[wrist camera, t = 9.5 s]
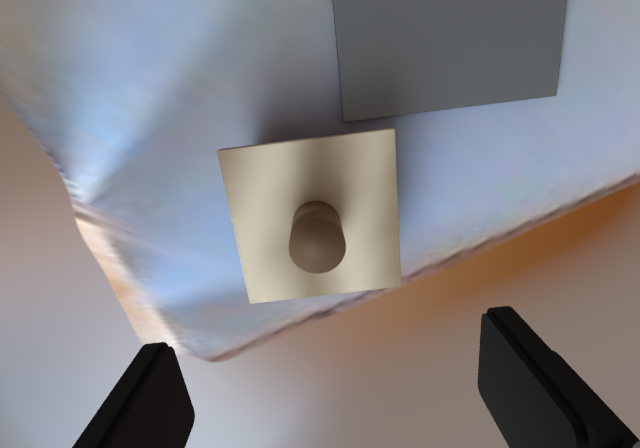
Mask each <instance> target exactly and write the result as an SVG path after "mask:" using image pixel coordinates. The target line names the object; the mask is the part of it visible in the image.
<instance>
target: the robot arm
mask: <svg viewBox="0 0 640 448" xmlns="http://www.w3.org/2000/svg"><path fill="white" fill-rule="evenodd" d="M478 389H479V392H480V395H481V397H482V399H483V401H484V402H485V404H486V406H487V408H488V410H489V411H490V413H491V415H492V417H493V419H494V420H495V422H496V424H497V426H498V428H499V430H500V431H501V433H502V435H503V437H504V439H505V440H506V442H507V444H508V446H509V447H510V448H640V440H639V439H638V438H637V437H636V436H635V435H634V434H633V433H632V432H631V430H630V429H629V428H628V427H627V426H626V425H625V424H624V423H623V422H622V421H621V420H620V419H619V418H618V417H617V416H616V415H615V413H614V412H613V411H612V410H611V409H610V408H609V407H608V406H607V405H606V404H605V403H604V402H603V401H602V400H601V399H600V398H599V397H598V395H597V394H596V393H595V392H594V391H593V390H592V389H591V388H590V387H589V386H588V385H587V384H586V383H585V382H584V381H583V380H582V379H581V377H579V375H578V374H577V373H576V372H575V371H574V370H573V369H572V368H571V367H570V366H569V365H568V364H567V363H566V362H565V360H564V359H563V358H562V357H561V356H560V355H558V354H557V353H556V352H554V351H552V350H551V349H550V348H549V347H548V346H547V345H546V344H545V343H544V342H543V341H542V339H541V338H540V337H539V336H538V335H537V334H536V333H535V332H534V331H533V330H532V329H531V328H530V327H529V325H528V324H527V323H526V322H525V321H524V320H523V319H522V318H521V317H520V316H519V315H518V314H517V313H516V311H515V310H514V309H513V308H511V307H510V306H504V307H495V308H489V309H488V311H487V313H486V314H483V315H482V318H481V335H480V352H479V369H478ZM194 417H195V414H194V409H193V406H192V403H191V400H190V397H189V394H188V391H187V388H186V385H185V382H184V379H183V376H182V373H181V370H180V367H179V363H178V361H177V357H176V354H175V351H174V349H173V348H172V347H168V344H167V343H165V342H161V343H151V344H145V345H144V346H143V347H142V348H141V349H140V351H139V352H138V354H137V355H136V357H135V358H134V359H133V361H132V362H131V364H130V365H129V367H128V368H127V370H126V371H125V373H124V374H123V375H122V377H121V378H120V380H119V381H118V382H117V384H116V385H115V387H114V388H113V390H112V391H111V392H110V394H109V396H108V397H107V398H106V400H105V401H104V403H103V404H102V405H101V407H100V408H99V410H98V411H97V413H96V414H95V416H94V417H93V418H92V420H91V421H90V423H89V424H88V426H87V427H86V429H85V430H84V432H83V433H82V434H81V436H80V437H79V439H78V440H77V441H76V443H75V444H74V446H73V447H72V448H185V446H186V443H187V440H188V437H189V435H190V432H191V429H192V427H193V424H194V419H195V418H194Z"/></svg>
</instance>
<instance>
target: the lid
mask: <svg viewBox="0 0 640 448" xmlns="http://www.w3.org/2000/svg"><path fill="white" fill-rule="evenodd" d="M217 154H218V159H219V163H220V168H221V172H222V177H223V182H224V186H225V191H226V195H227V200H228V205H229V209H230V214H231V218H232V223H233V227H234V232H235V237H236V241H237V246H238V250H239V255H240V260H241V264H242V269H243V273H244V278H245V283H246V287H247V292H248V296H249V301H250V304H253V303H261V302H270V301H278V300H287V299H296V298H304V297H313V296H321V295H330V294H339V293H347V292H356V291H365V290H373V289H382V288H390V287H399V286H401V265H400V241H399V217H398V193H397V168H396V144H395V129H393V128H386V129H378V130H370V131H362V132H354V133H346V134H338V135H330V136H322V137H313V138H305V139H297V140H289V141H281V142H273V143H265V144H257V145H249V146H241V147H232V148H224V149H220V150H218V151H217Z"/></svg>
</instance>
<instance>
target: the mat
mask: <svg viewBox="0 0 640 448" xmlns="http://www.w3.org/2000/svg"><path fill="white" fill-rule="evenodd" d="M566 5H567V0H333V11H334V22H335V33H336V44H337V55H338V66H339V77H340V88H341V99H342V110H343V122H348V121H356V120H364V119H372V118H380V117H388V116H396V115H405V114H413V113H421V112H429V111H437V110H445V109H453V108H461V107H469V106H477V105H485V104H493V103H501V102H510V101H518V100H526V99H534V98H542V97H550V96H556V95H557V86H558V77H559V68H560V59H561V50H562V41H563V32H564V23H565V14H566Z"/></svg>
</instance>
